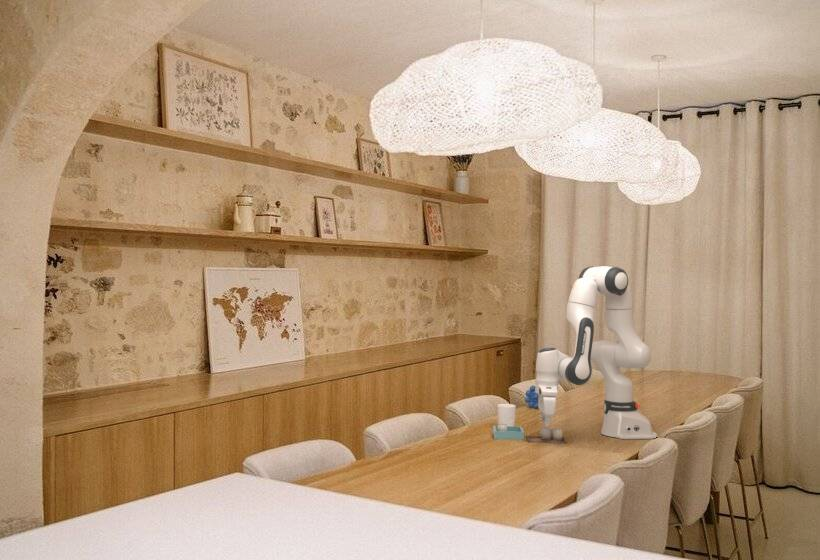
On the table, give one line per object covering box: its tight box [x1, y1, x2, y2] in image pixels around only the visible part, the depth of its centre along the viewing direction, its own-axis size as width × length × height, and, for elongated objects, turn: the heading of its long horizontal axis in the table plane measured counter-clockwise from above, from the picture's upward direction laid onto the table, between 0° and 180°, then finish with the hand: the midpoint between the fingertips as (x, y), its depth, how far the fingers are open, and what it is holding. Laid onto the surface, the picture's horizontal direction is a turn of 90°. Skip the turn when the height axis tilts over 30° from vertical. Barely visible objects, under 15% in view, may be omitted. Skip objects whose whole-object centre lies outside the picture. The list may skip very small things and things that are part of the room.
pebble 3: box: [551, 427, 563, 441], centre depth 293 cm, size 4×4×4 cm
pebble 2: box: [540, 427, 552, 441], centre depth 293 cm, size 4×4×4 cm
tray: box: [525, 435, 568, 444], centre depth 293 cm, size 15×8×1 cm, turn 87°
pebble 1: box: [496, 423, 507, 431], centre depth 299 cm, size 4×4×4 cm
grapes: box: [524, 385, 539, 409], centre depth 368 cm, size 12×7×12 cm, turn 64°
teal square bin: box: [492, 425, 525, 441], centre depth 299 cm, size 12×12×4 cm
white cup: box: [496, 403, 517, 426], centre depth 317 cm, size 8×8×10 cm
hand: (545, 424), depth 292 cm, fingers open, 8 cm apart
